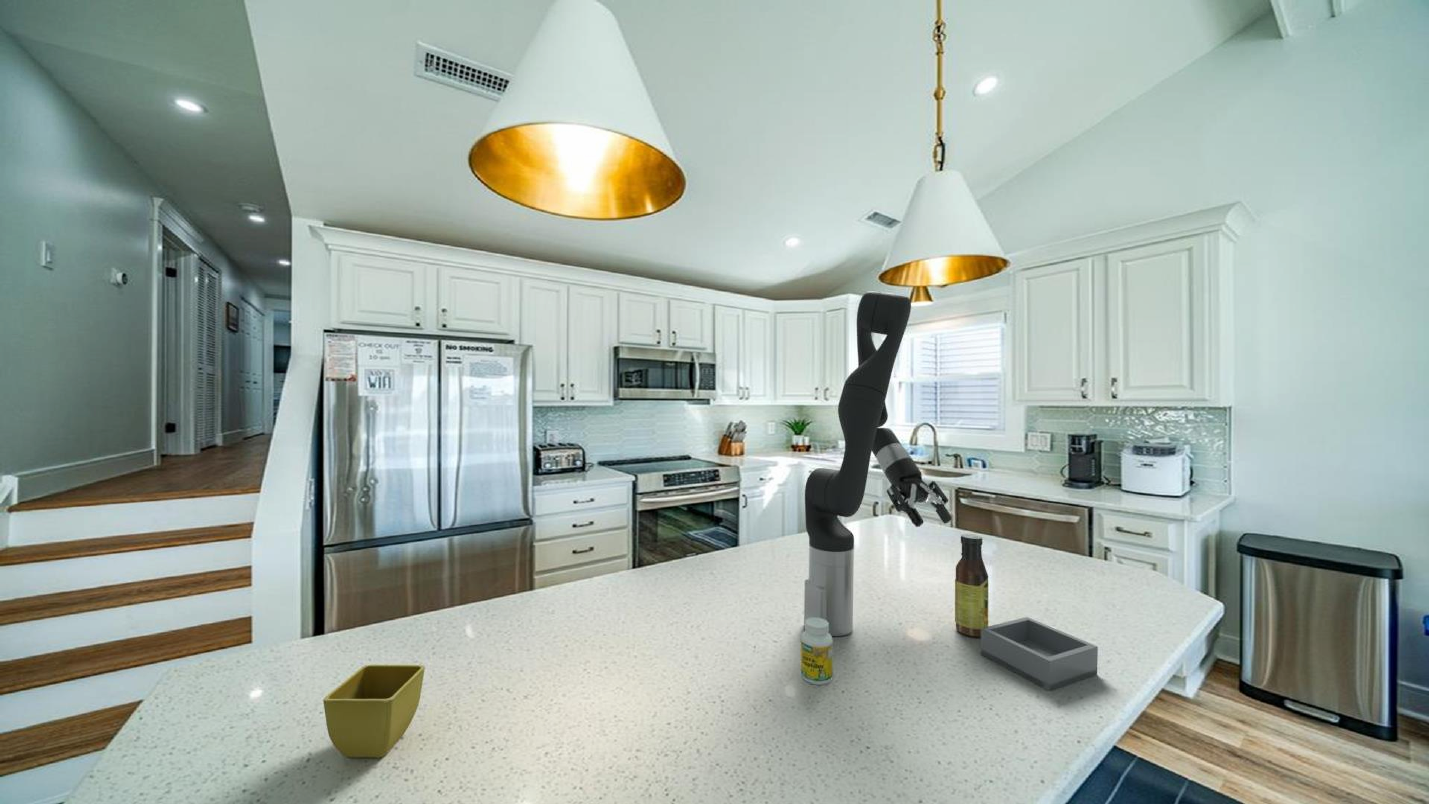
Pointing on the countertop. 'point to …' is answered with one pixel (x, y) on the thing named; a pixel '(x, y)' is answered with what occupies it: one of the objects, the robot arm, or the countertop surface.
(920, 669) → the countertop surface
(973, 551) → the sauce bottle
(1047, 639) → the gray tray
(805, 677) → the supplement bottle
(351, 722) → the flower pot
